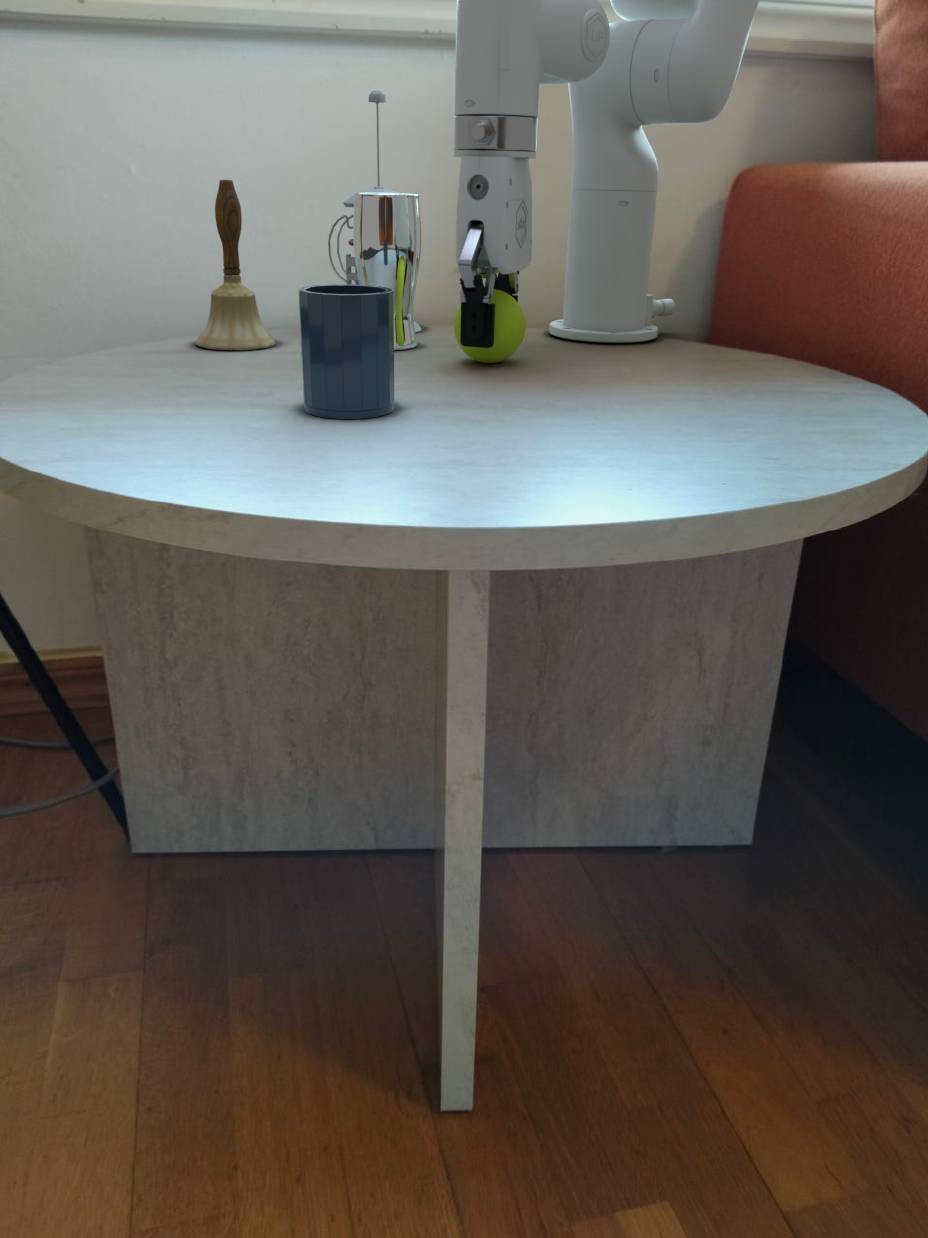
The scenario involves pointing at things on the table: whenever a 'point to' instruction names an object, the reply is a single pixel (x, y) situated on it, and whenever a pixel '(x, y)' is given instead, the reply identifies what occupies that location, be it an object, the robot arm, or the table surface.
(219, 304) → the hand bell
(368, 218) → the beer glass
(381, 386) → the cup
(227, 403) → the table surface
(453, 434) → the table surface
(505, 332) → the ball
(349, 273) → the french press
